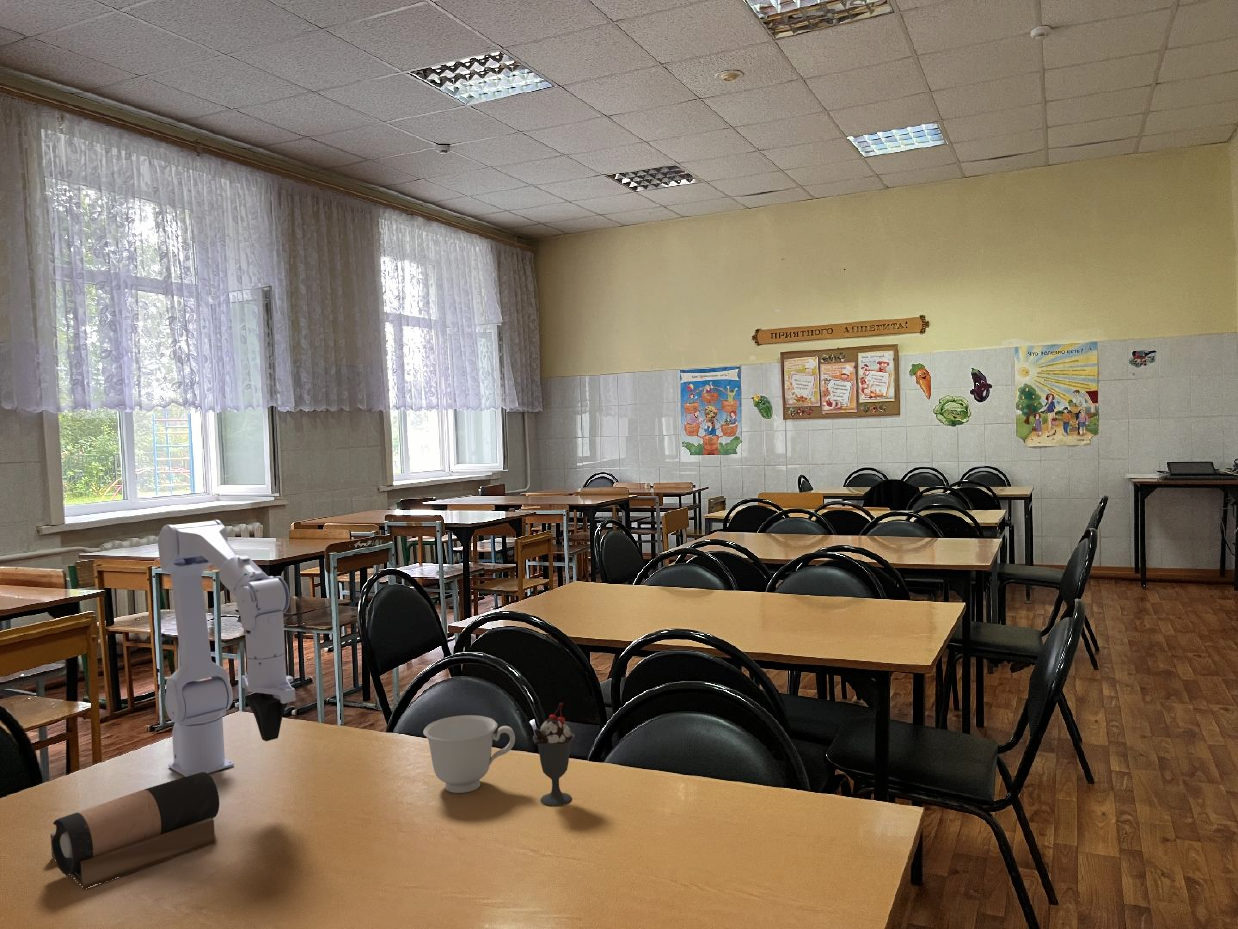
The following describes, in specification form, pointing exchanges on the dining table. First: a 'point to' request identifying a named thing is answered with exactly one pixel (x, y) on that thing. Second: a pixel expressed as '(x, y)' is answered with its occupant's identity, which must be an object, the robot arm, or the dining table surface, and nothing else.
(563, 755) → the sundae
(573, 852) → the dining table surface
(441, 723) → the teacup
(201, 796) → the travel mug
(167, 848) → the u rest
